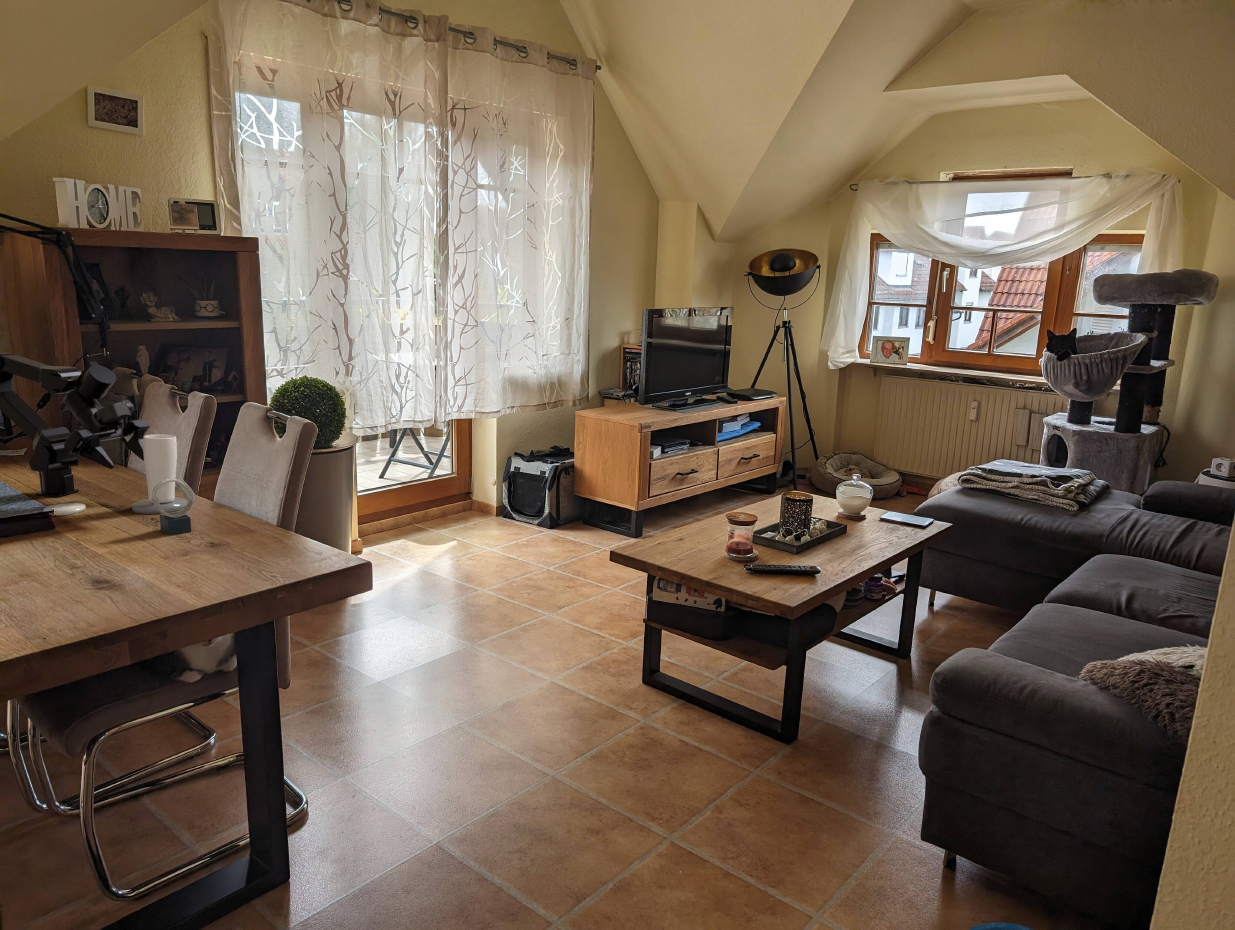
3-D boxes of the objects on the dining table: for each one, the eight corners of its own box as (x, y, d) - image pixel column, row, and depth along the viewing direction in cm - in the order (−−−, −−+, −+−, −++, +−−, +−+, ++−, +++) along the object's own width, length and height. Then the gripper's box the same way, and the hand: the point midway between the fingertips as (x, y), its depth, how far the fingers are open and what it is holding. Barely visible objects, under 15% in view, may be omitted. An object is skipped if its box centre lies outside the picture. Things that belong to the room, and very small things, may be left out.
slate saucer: (120, 511, 193) (120, 506, 193) (156, 500, 204) (156, 495, 203) (162, 515, 191) (162, 510, 191) (197, 504, 201) (197, 499, 201)
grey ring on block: (201, 530, 181) (197, 479, 179) (159, 536, 176) (155, 484, 174) (192, 524, 185) (188, 474, 183) (151, 530, 180) (147, 479, 177)
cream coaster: (33, 513, 189) (33, 510, 189) (64, 504, 197) (64, 501, 197) (64, 516, 188) (64, 513, 188) (94, 508, 195) (93, 504, 195)
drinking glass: (178, 497, 202) (176, 434, 200) (178, 503, 196) (177, 438, 194) (145, 498, 199) (143, 434, 197) (144, 505, 193) (142, 438, 191)
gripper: (68, 393, 187) (112, 448, 186) (140, 385, 205) (180, 435, 203) (45, 426, 191) (87, 480, 190) (117, 415, 209) (156, 464, 207)
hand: (130, 464), depth 198 cm, fingers open, 9 cm apart
